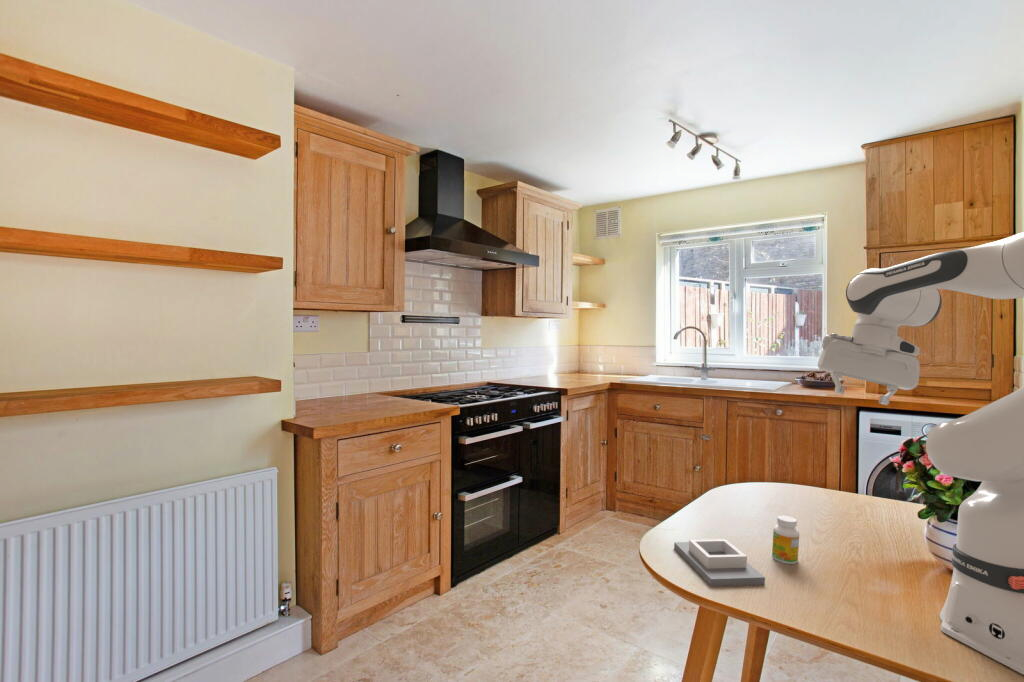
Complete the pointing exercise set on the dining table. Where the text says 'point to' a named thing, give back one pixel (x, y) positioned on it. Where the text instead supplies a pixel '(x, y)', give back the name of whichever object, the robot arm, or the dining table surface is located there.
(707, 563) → the socket board
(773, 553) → the supplement bottle
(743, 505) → the dining table surface
